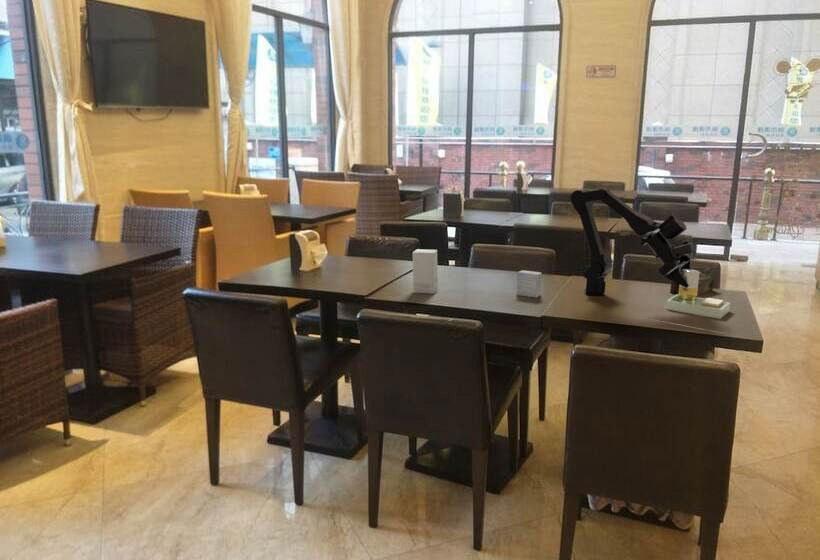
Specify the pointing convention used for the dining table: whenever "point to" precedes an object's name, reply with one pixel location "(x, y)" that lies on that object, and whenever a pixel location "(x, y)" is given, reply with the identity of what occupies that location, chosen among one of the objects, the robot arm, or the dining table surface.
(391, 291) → the dining table surface
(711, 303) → the butter box
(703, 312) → the tote
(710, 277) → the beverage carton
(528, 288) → the medicine box
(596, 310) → the dining table surface
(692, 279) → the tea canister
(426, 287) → the skincare box
